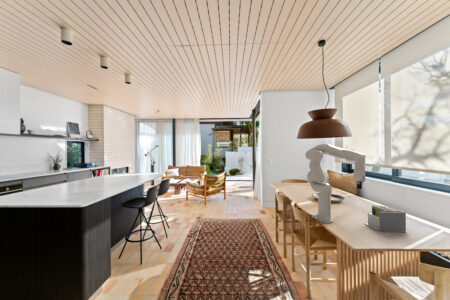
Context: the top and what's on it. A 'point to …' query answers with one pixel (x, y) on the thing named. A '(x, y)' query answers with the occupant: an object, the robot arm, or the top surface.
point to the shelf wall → (393, 221)
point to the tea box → (381, 210)
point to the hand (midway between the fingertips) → (359, 188)
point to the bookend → (373, 222)
